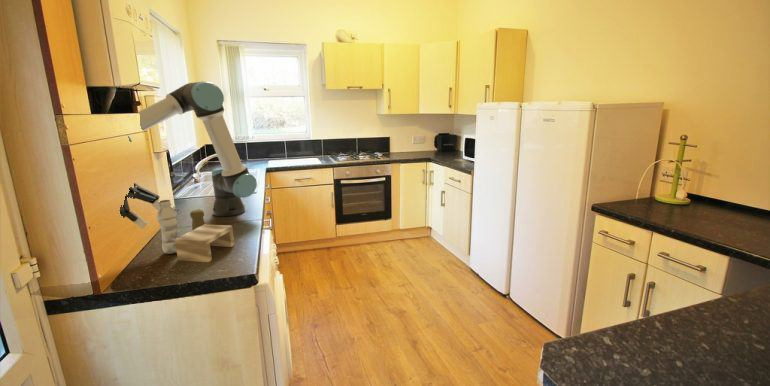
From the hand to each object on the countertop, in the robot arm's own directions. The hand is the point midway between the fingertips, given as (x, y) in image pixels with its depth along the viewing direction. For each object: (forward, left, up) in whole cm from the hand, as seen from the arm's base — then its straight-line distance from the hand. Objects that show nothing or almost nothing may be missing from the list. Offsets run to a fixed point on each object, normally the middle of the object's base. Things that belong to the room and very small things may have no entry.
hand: (157, 219), depth 131 cm
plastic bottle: (-1, +3, -13) cm, 14 cm away
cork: (-19, +1, -13) cm, 24 cm away
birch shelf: (-3, +16, -13) cm, 21 cm away
